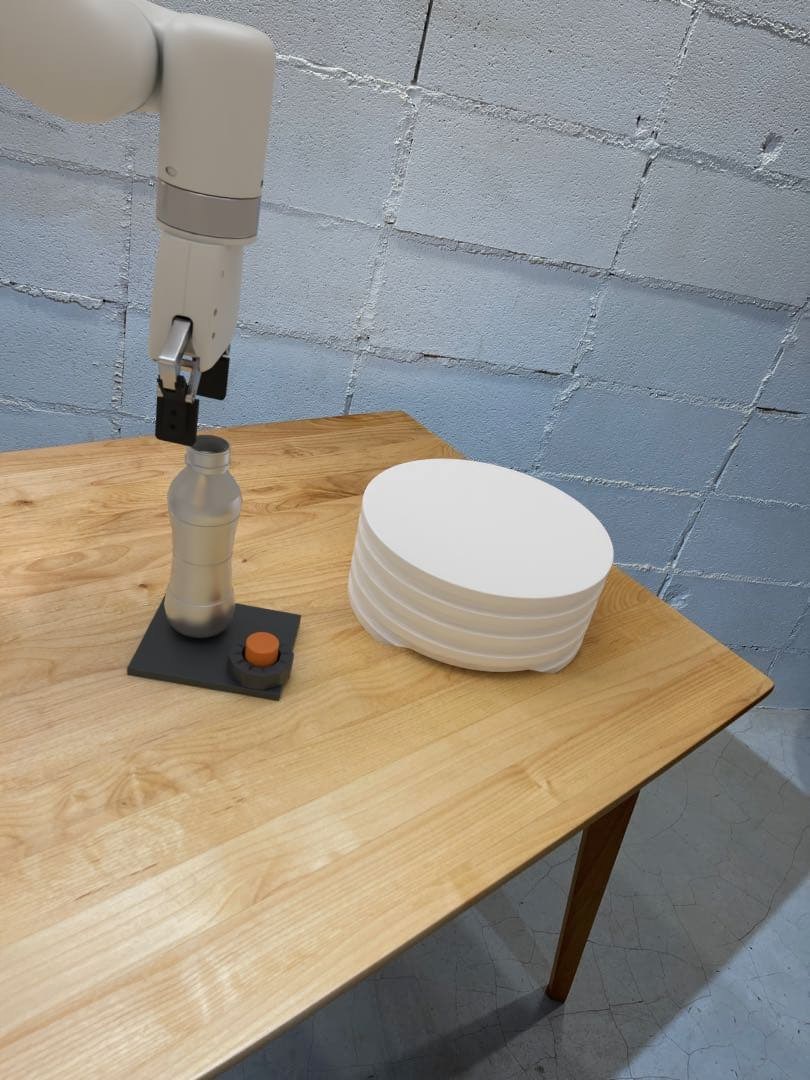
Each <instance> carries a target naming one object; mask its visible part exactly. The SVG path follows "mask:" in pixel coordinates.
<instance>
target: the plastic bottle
mask: <svg viewBox="0 0 810 1080" xmlns="http://www.w3.org/2000/svg"><path fill="white" fill-rule="evenodd" d="M185 449H186V450H185V454H184V464H185V465H186V466H185V467H184V468H183V469H181V471H179V472H178V474H177V475H176V476H175V477H174V478H173V480H172V481H171V482H170V485H169V487H168V490H167V493H166V501H167V503H166V504H167V509H168V510H167V511H168V515H169V523H170V529H171V546H172V548H171V551H172V558H171V567H170V574H169V581H168V584H167V587H166V592H165V594H166V596H165V595H164V596H165V602H164V606H165V612H166V617H167V620H168V622H169V623H170V624H171V626H172V627H173V628H174V629H175V630H176V631H178V632H179V633H181V634H183V635H185V636H188V637H193V638H208V637H212V636H215V635H218V634H219V633H221V632H222V631H223V630H225V629H226V628H227V627H228V626H229V624H230V623H231V621H232V618H233V614H234V611H235V603H236V597H235V591H234V587H233V565H232V564H233V562H232V559H233V553H234V545H235V538H236V533H237V529H238V524H239V520H240V517H241V512H242V508H243V502H244V501H243V499H244V497H243V495H242V491H241V488H240V485H239V484H238V482H237V481H236V479H235V477H234V476H233V475H232V473H231V472H230V471H229V469H230V468H231V464H232V458H231V453H232V452H231V451H232V445H231V443H230V441H228V440H227V439H226V438H223V437H221V436H218V435H214V434H197V438H196V442H195V444H194V445H193V446H186V448H185Z"/></svg>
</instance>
